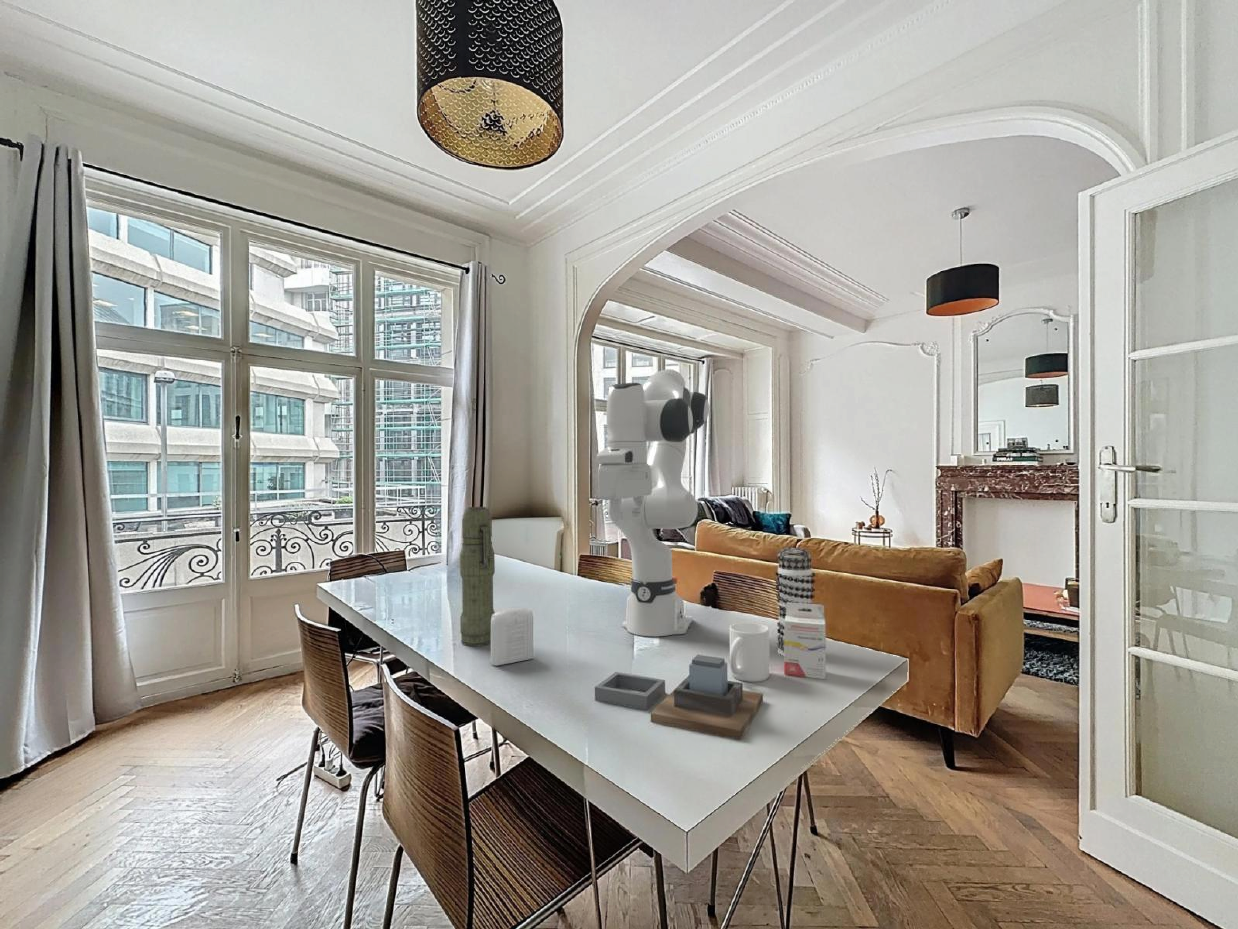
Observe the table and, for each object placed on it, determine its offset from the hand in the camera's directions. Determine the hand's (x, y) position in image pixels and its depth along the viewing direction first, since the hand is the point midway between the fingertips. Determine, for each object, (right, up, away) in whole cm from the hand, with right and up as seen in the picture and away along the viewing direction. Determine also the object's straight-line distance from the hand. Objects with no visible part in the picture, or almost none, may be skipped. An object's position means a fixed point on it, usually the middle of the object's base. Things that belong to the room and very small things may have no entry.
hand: (627, 518), depth 125 cm
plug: (+15, -32, -21) cm, 41 cm away
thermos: (-39, -35, +24) cm, 57 cm away
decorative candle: (+41, -34, +11) cm, 54 cm away
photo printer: (-27, -34, +8) cm, 44 cm away
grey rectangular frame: (0, -34, -14) cm, 36 cm away
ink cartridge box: (+38, -34, -2) cm, 51 cm away
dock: (+15, -34, -21) cm, 42 cm away
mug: (+25, -34, -5) cm, 42 cm away
